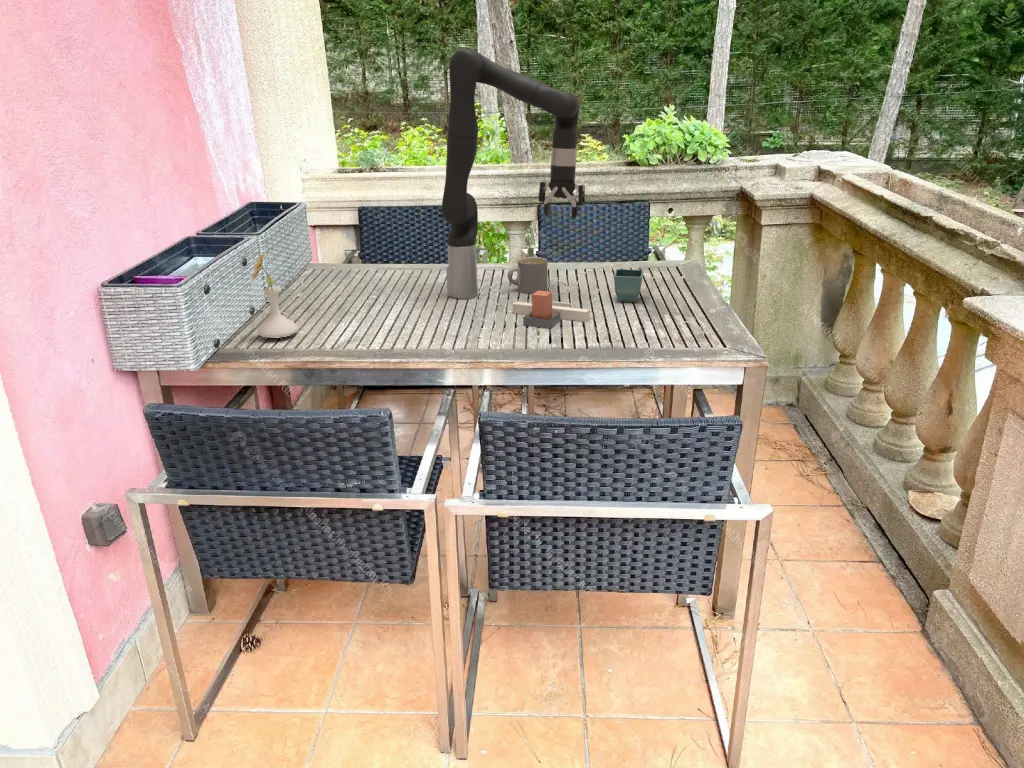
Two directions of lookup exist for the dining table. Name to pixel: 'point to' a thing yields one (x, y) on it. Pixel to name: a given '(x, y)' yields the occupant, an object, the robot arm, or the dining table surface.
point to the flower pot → (627, 284)
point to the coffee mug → (530, 275)
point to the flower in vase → (273, 309)
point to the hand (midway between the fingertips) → (560, 217)
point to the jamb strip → (555, 310)
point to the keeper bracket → (541, 320)
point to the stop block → (542, 304)
